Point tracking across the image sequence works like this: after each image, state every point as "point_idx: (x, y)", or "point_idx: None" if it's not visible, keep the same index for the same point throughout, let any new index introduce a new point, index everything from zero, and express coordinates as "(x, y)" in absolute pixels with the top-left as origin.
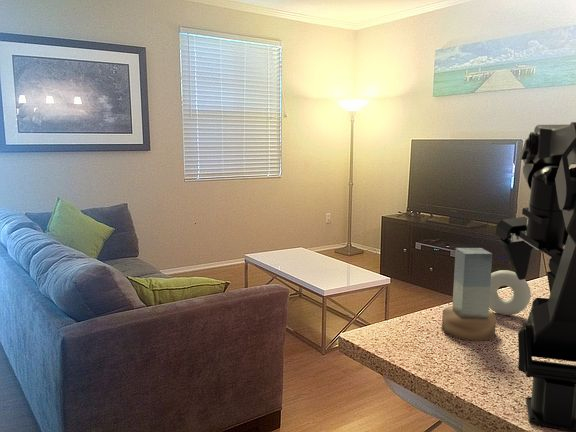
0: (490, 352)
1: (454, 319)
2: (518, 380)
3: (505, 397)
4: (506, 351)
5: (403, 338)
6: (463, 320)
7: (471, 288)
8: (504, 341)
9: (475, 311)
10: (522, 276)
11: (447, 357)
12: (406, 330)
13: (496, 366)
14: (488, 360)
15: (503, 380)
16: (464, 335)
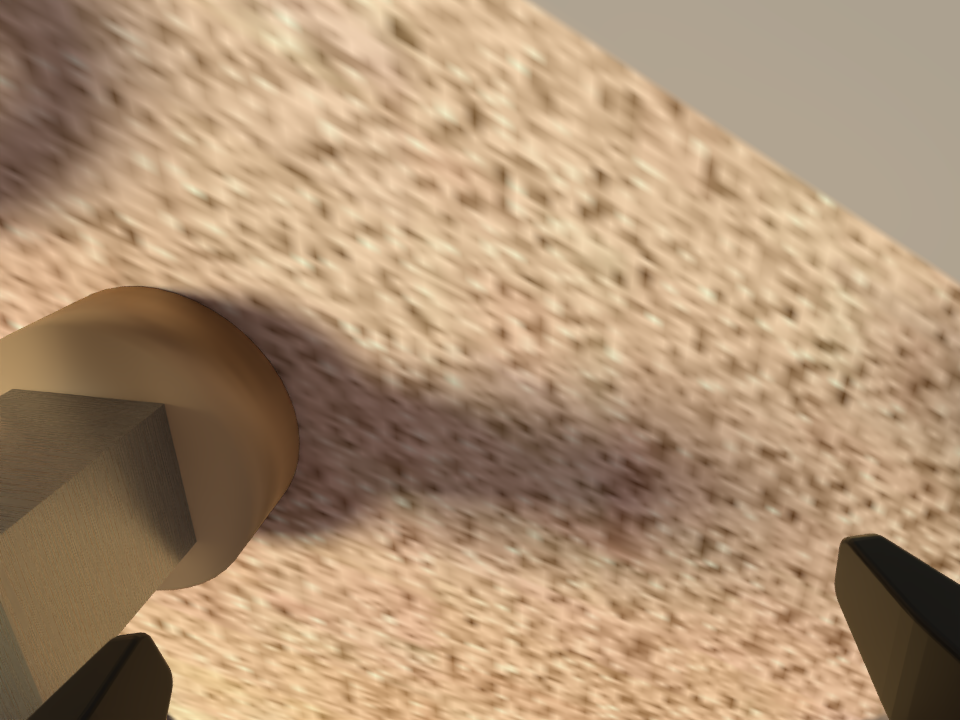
0: (435, 432)
1: (211, 575)
2: (755, 458)
3: None
4: (419, 348)
5: (311, 693)
6: (219, 542)
7: (41, 659)
8: (283, 293)
9: (150, 504)
10: (141, 698)
11: (495, 624)
12: (223, 655)
13: (596, 480)
14: (528, 483)
15: (743, 520)
16: (280, 494)
